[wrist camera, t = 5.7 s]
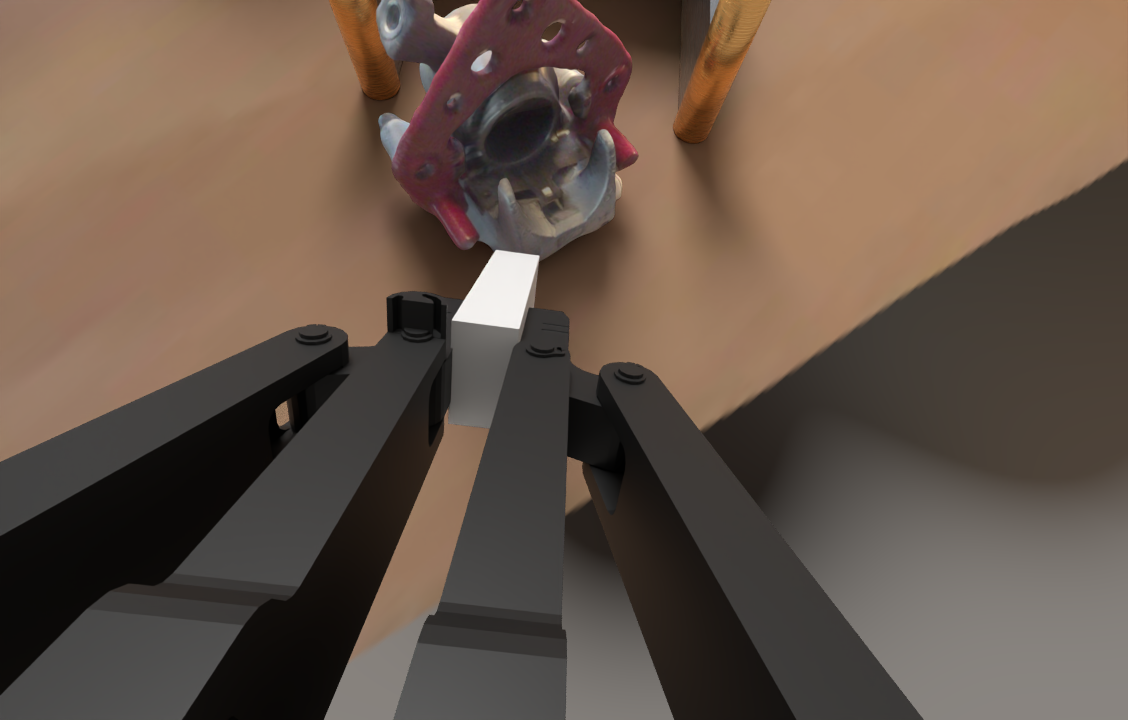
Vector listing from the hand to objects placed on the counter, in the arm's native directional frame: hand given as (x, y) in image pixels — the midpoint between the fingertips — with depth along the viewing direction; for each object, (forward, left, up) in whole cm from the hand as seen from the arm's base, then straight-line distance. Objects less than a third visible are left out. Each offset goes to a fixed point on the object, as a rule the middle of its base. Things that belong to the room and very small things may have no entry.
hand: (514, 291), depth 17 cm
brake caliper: (-1, +8, -6) cm, 10 cm away
